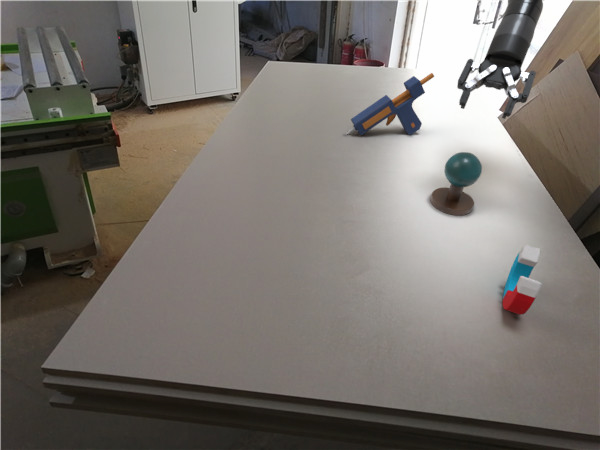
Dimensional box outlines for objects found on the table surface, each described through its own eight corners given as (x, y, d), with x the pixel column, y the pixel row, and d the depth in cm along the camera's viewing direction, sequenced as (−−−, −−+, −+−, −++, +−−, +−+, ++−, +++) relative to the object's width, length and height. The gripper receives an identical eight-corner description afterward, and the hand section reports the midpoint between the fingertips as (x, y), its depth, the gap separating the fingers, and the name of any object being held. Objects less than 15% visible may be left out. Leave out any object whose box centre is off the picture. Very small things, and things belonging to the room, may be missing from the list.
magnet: (503, 279, 79) (524, 240, 72) (519, 284, 78) (541, 245, 72) (500, 323, 70) (523, 282, 64) (517, 329, 69) (542, 288, 63)
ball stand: (475, 200, 101) (494, 151, 92) (467, 220, 94) (487, 169, 85) (436, 188, 104) (451, 140, 96) (425, 206, 97) (440, 156, 89)
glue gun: (361, 159, 135) (339, 126, 126) (438, 102, 131) (422, 64, 122) (368, 167, 131) (347, 134, 121) (449, 108, 126) (433, 69, 117)
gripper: (477, 26, 85) (449, 95, 84) (551, 38, 80) (522, 112, 79) (474, 48, 92) (448, 112, 91) (542, 60, 87) (515, 128, 86)
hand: (483, 111), depth 85 cm, fingers open, 8 cm apart
